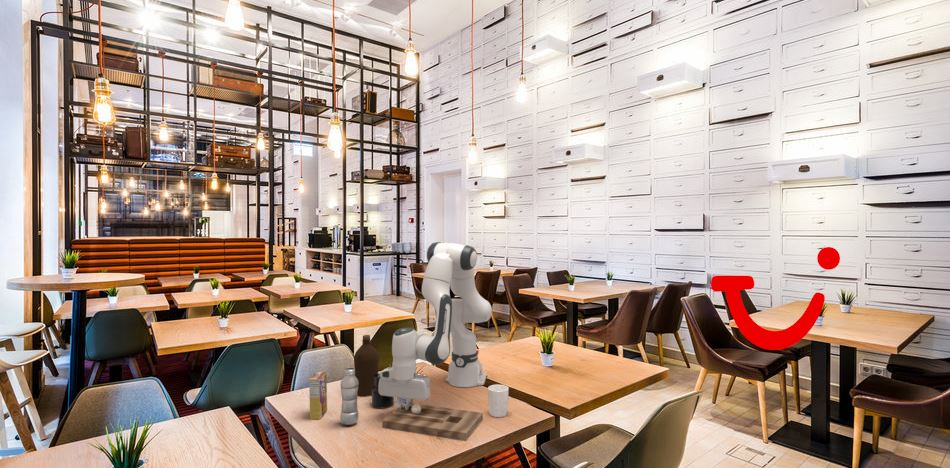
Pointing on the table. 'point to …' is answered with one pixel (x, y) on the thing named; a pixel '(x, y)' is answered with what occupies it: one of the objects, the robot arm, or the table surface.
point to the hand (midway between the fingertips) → (404, 409)
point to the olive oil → (366, 366)
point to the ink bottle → (380, 396)
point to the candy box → (318, 395)
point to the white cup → (498, 400)
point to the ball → (416, 409)
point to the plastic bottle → (349, 397)
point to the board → (435, 421)
